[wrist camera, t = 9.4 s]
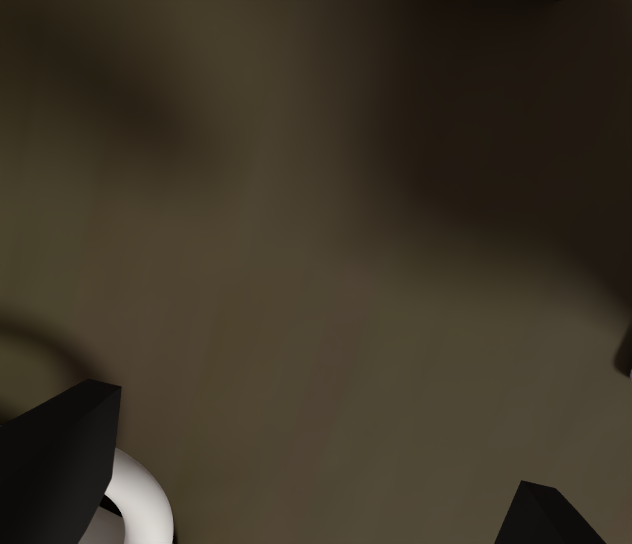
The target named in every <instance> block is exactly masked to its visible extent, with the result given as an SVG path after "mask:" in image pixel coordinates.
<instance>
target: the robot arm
mask: <svg viewBox="0 0 632 544" xmlns="http://www.w3.org/2000/svg"><path fill="white" fill-rule="evenodd" d="M630 378H631V381H632V370H631V373H630ZM121 389H122V387H121V386H117V385H112V384H108V383H104V382H100V381H95V380H91V379H87V380H85V381H83V382H81V383H79V384H77V385H75V386H73V387H72V388H70V389H68V390H66V391H64V392H62V393H61V394H59V395H57V396H55V397H53V398H51V399H50V400H48V401H46V402H44V403H42V404H41V405H39V406H37V407H35V408H33V409H31V410H30V411H28V412H26V413H24V414H22V415H20V416H18V417H16V418H14V419H13V420H11V421H9V422H7V423H5V424H3V425H1V426H0V544H78V543H79V541H80V540H81V538H82V537H83V535H84V533H85V532H86V530H87V528H88V526H89V524H90V522H91V520H92V518H93V516H94V514H95V512H96V510H97V508H98V506H99V504H100V502H101V500H102V498H103V496H104V494H105V492H106V490H107V488H108V486H109V484H110V481H111V479H112V474H113V464H114V455H115V445H116V436H117V426H118V417H119V407H120V398H121ZM494 544H606V543H605V542H604V541H603V539H602V538H601V537H600V536H599V535H598V534H597V533H596V532H595V530H594V529H593V528H592V527H591V526H590V525H589V524H588V523H587V521H586V520H585V519H584V518H583V517H582V516H581V515H580V514H579V512H578V511H577V510H576V509H575V508H574V507H573V506H572V505H571V504H570V503H569V502H568V501H567V499H566V498H565V497H564V496H563V495H562V494H561V493H560V492H559V491H558V490H557V489H556V488H552V487H548V486H544V485H539V484H535V483H531V482H527V481H522V480H521V482H520V485H519V487H518V489H517V492H516V494H515V496H514V499H513V501H512V503H511V506H510V508H509V510H508V513H507V515H506V517H505V520H504V522H503V524H502V527H501V529H500V531H499V534H498V536H497V538H496V541H495V543H494Z"/></svg>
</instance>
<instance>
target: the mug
mask: <svg viewBox="0 0 632 544" xmlns="http://www.w3.org/2000/svg"><path fill="white" fill-rule="evenodd" d="M105 495H106V496H108V497H109V498H110V499H111V500H112V501H113V502H114V503H115V504H116V506H117V507H118V508H119V510H120V512H121V514H122V516H123V518H122V517H120V516H118V515H116V514H114V513H112V512H110V511H108V510H106V509H104V508H102V507H100V506H98V508H97V510H96V512H95V514H94V516H93V518H92V520H91V522H90V524H89V526H88V528H87V530H86V532H85V533H84V535H83V537H82V538H81V540H80V541H79V543H78V544H173V543H172V540H173V516H172V511H171V507H170V504H169V501H168V499H167V497H166V495H165V493H164V491H163V489H162V488H161V486H160V484H159V483H158V482H157V480H156V479H155V478H154V477H153V476H152V475H151V473H150V472H149V471H148V470H147V469H146V468H144V467H143V466H142V465H141V464H140V463H139V462H137V461H136V460H135V459H133V458H132V457H131V456H129V455H128V454H126V453H124V452H123V451H121V450H120V449H118V448H116V447H115V455H114V464H113V474H112V479H111V481H110V484H109V486H108V488H107V490H106V492H105Z"/></svg>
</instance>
